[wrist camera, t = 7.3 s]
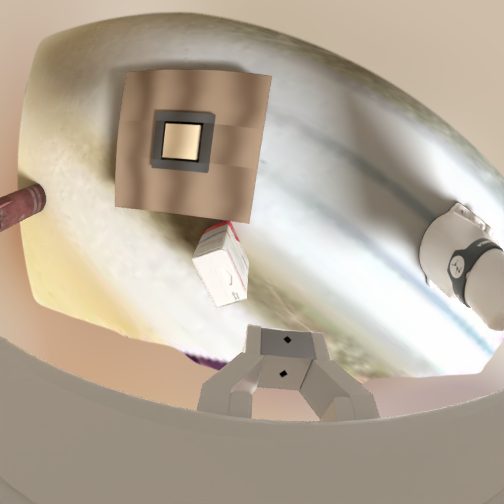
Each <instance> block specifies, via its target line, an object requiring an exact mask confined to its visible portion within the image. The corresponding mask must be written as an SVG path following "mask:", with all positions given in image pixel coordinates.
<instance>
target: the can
mask: <svg viewBox="0 0 504 504" xmlns="http://www.w3.org/2000/svg"><path fill="white" fill-rule="evenodd" d="M45 203H46V195H45V192H44V190H43V188H42V187H40V186H39V185H32V186H29V187H27V188H24V189H21V190H18V191H16V192H13V193H11V194H8V195H6V196H3V197H1V198H0V232H1V231H3V230H5V229H7V228H9V227H11V226H12V225H14V224H16V223H18V222H20V221H22V220H24V219H26V218H28V217H30V216H32V215H34V214H36V213H38V212H40V211H42V210H43V208H44V206H45Z"/></svg>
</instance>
